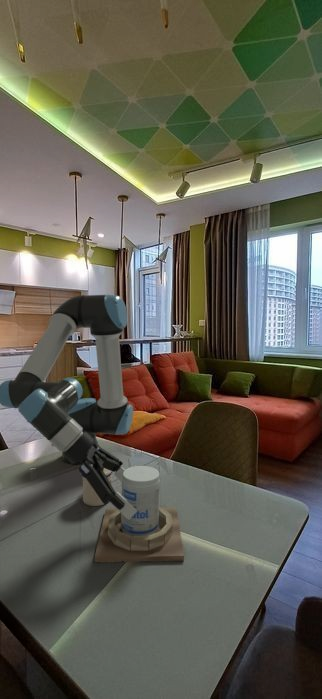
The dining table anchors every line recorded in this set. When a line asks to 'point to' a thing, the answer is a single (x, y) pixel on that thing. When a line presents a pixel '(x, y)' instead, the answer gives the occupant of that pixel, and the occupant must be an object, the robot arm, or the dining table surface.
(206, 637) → the dining table surface
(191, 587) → the dining table surface
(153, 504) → the supplement tub
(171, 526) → the ring holder
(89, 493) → the teacup with lid
